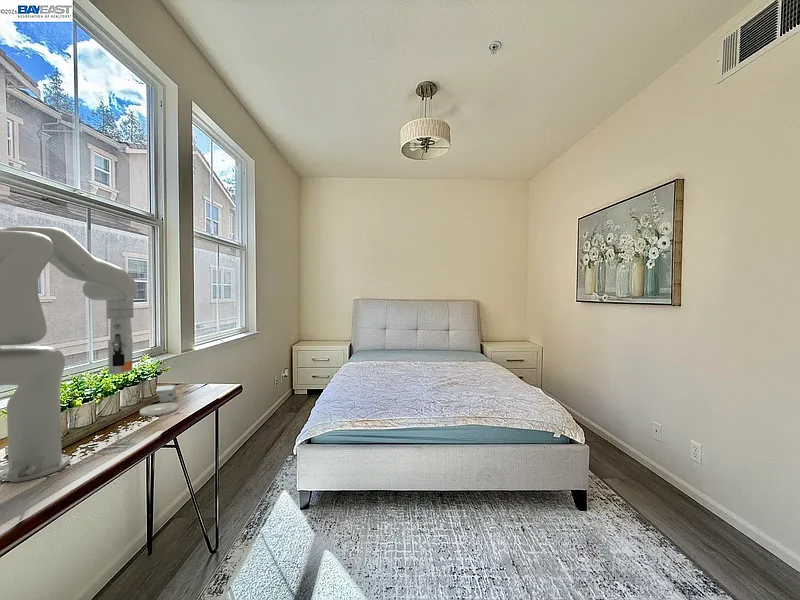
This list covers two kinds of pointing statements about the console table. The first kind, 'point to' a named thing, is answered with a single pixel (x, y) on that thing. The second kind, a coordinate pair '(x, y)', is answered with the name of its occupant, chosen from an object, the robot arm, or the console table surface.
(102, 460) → the console table surface
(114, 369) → the skincare box
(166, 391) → the small box
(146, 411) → the ceramic dish
